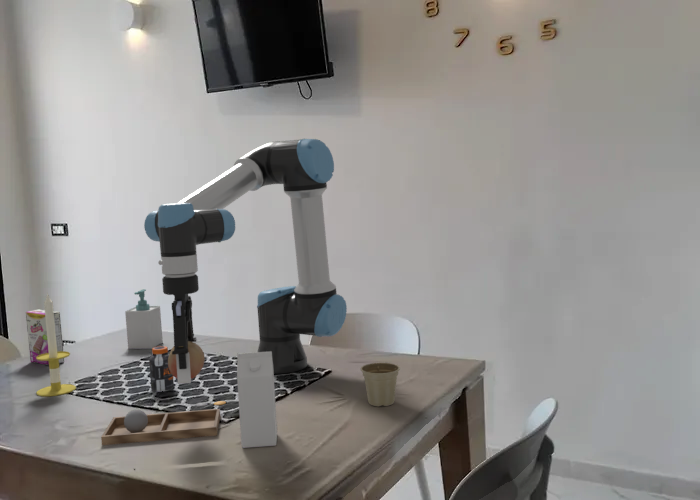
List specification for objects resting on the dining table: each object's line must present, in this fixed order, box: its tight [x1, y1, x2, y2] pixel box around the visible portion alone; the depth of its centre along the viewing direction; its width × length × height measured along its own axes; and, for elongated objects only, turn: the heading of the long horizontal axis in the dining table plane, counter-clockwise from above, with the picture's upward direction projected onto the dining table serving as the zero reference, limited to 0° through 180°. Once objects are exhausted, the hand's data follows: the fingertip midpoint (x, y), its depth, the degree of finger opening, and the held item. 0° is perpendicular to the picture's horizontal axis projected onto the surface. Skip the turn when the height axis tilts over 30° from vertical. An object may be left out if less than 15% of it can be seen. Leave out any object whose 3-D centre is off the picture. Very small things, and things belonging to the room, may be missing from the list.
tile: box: [194, 400, 227, 407], centre depth 172 cm, size 10×7×1 cm
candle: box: [36, 292, 77, 398], centre depth 189 cm, size 10×10×27 cm
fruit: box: [168, 341, 206, 380], centre depth 154 cm, size 8×8×8 cm
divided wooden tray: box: [100, 408, 221, 446], centre depth 155 cm, size 24×12×2 cm, turn 97°
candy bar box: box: [25, 308, 65, 366], centre depth 221 cm, size 11×5×16 cm, turn 58°
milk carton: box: [236, 351, 278, 449], centre depth 146 cm, size 7×7×19 cm
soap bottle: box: [124, 289, 163, 350], centre depth 238 cm, size 9×9×19 cm
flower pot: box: [360, 362, 401, 407], centre depth 168 cm, size 9×9×9 cm
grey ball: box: [124, 409, 148, 433], centre depth 154 cm, size 5×5×5 cm
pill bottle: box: [148, 345, 175, 393], centre depth 187 cm, size 6×6×11 cm
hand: (186, 377), depth 154 cm, fingers closed on fruit, 8 cm apart
